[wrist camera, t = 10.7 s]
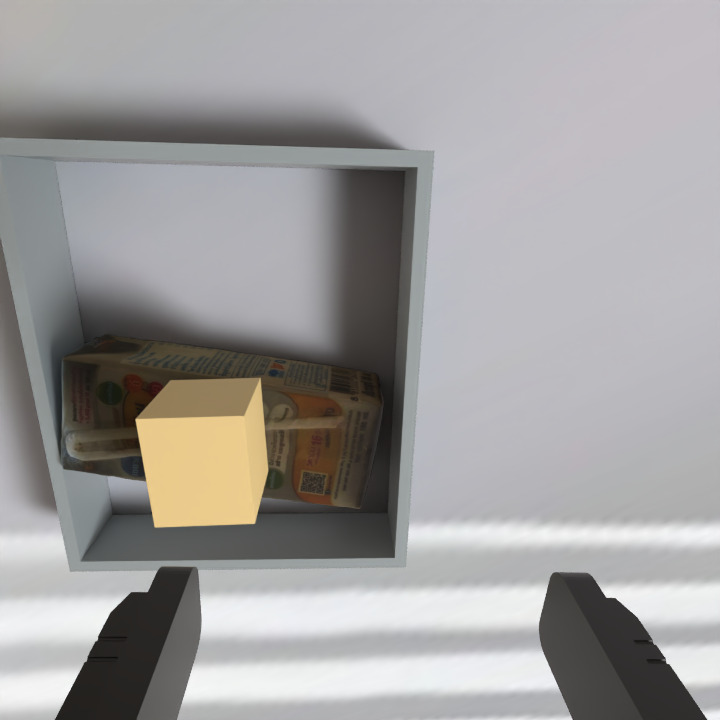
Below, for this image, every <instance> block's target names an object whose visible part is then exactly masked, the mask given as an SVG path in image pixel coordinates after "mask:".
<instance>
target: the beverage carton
mask: <svg viewBox="0 0 720 720" xmlns="http://www.w3.org/2000/svg"><path fill="white" fill-rule="evenodd" d="M235 378H261V390H262V402H263V414H264V426H265V437H266V449H267V461H268V474H267V478H266V482H265V486H264V490H263V494H262V497H264V498H273V499H284V500H290V501H297V502H306V503H313V504H322V505H330V506H337V507H351V508H356V509H360V508H361V507H362V504H363V500H364V497H365V493H366V490H367V486H368V482H369V478H370V475H371V470H372V466H373V461H374V457H375V452H376V448H377V443H378V437H379V432H380V426H381V420H382V413H383V406H384V400H383V395H382V392H381V387H380V384H379V380H378V377H377V375H376V374H375V373H368V372H363V371H358V370H352V369H347V368H341V367H335V366H328V365H322V364H315V363H309V362H302V361H295V360H288V359H280V358H275V357H267V356H261V355H254V354H247V353H239V352H233V351H226V350H219V349H213V348H205V347H198V346H191V345H184V344H177V343H170V342H161V341H151V340H139V339H134V338H125V337H118V336H112V335H104V336H102V337H96V338H94V339H93V340H92V341H90V342H87V343H86V344H85V345H84V346H82V347H81V348H79V349H77V350H75V351H73V352H71V353H70V354H68V355H66V356H64V357H63V359H62V439H61V464H62V468H63V469H64V470H72V471H79V472H86V473H92V474H98V475H103V476H115V477H120V478H125V479H132V480H139V481H146V476H145V470H144V464H143V459H142V453H141V447H140V442H139V436H138V431H137V425H136V418H137V417H138V416H139V415H140V414H141V412H142V411H143V410H144V409H145V408H146V407H147V406H148V405H149V404H150V402H151V401H152V400H153V399H154V398H155V397H156V396H157V395H158V394H159V393H160V391H161V390H162V389H163V388H164V387H165V386H166V385H167V384H168V383H169V381H170V380H198V379H235Z"/></svg>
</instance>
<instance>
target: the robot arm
mask: <svg viewBox="0 0 720 720" xmlns="http://www.w3.org/2000/svg"><path fill="white" fill-rule="evenodd" d="M200 633H201V605H200V591H199V577H198V569H197V567H182V566H162V567H160V568H159V570H158V571H157V573H156V576H155V578H154V580H153V582H152V584H151V587H150V589H149V591H148V592H131V593H130V594H129V595H128V596H127V597H126V598H125V599H124V600H123V601H122V602H121V603H120V604H119V605H118V606H117V607H116V608H115V609H114V610H113V611H112V612H111V613H110V615H109V617H108V619H107V621H106V623H105V624H104V626H103V628H102V630H101V632H100V634H99V636H98V641H96V642H95V644H94V646H93V648H92V649H91V651H90V653H89V655H88V659H87V662H85V663H84V665H83V667H82V669H81V671H80V672H79V674H78V676H77V678H76V680H75V682H74V684H73V686H72V688H71V690H70V692H69V694H68V696H67V697H66V699H65V701H64V703H63V705H62V707H61V709H60V711H59V713H58V715H57V717H56V719H55V720H177V717H178V714H179V710H180V707H181V704H182V700H183V697H184V693H185V690H186V687H187V683H188V680H189V676H190V673H191V670H192V666H193V663H194V660H195V656H196V653H197V649H198V645H199V640H200ZM539 635H540V641H541V646H542V649H543V652H544V655H545V657H546V659H547V661H548V664H549V666H550V668H551V671H552V673H553V675H554V677H555V680H556V682H557V684H558V687H559V689H560V691H561V693H562V696H563V698H564V700H565V703H566V705H567V707H568V709H569V712H570V714H571V716H572V719H573V720H707V719H706V717H705V716H704V714H703V713H702V711H701V710H700V708H699V707H698V705H697V704H696V703H695V701H694V700H693V698H692V697H691V695H690V694H689V692H688V691H687V689H686V688H685V686H684V685H683V684H682V682H681V681H680V679H679V678H678V676H677V675H676V673H675V672H674V670H673V669H672V668H671V666H670V665H669V664H667V663H666V659H665V657H664V656H663V654H662V653H661V651H660V650H659V649H658V647H657V646H656V645H654V644H653V640H652V638H651V637H650V635H649V634H648V632H647V631H646V630H645V628H644V627H643V625H642V624H641V622H640V621H639V619H638V618H637V617H636V616H635V615H634V614H633V613H632V612H630V611H629V610H628V609H627V608H626V607H625V606H624V605H622V604H621V603H620V602H619V601H618V600H617V599H616V598H606V597H605V595H604V594H603V592H602V591H601V589H600V587H599V586H598V584H597V583H596V581H595V580H594V578H593V577H592V576H591V575H590V574H588V573H565V572H555V573H553V574H552V575H551V577H550V581H549V585H548V589H547V593H546V597H545V601H544V605H543V609H542V613H541V618H540V622H539Z"/></svg>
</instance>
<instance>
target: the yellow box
mask: <svg viewBox="0 0 720 720" xmlns="http://www.w3.org/2000/svg"><path fill="white" fill-rule="evenodd" d="M136 425H137V431H138V436H139V442H140V447H141V453H142V459H143V464H144V470H145V476H146V481H147V487H148V493H149V498H150V504H151V509H152V515H153V521H154V526H155V527H182V526H208V525H235V524H255V521H256V517H257V513H258V509H259V506H260V502H261V498H262V494H263V490H264V486H265V482H266V478H267V474H268V461H267V449H266V437H265V426H264V414H263V402H262V390H261V378H235V379H198V380H170V381H169V383H168V384H167V385H166V386H165V387H164V388H163V389H162V390H161V391H160V393H159V394H158V395H157V396H156V397H155V398H154V399H153V400H152V401H151V402H150V404H149V405H148V406H147V407H146V408H145V409H144V410H143V411H142V412H141V414H140V415H139V416H138V417H137V418H136Z"/></svg>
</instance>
